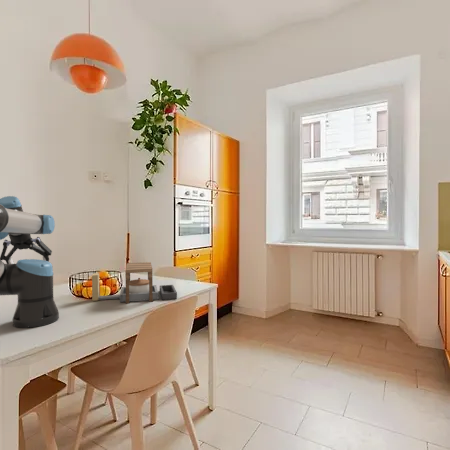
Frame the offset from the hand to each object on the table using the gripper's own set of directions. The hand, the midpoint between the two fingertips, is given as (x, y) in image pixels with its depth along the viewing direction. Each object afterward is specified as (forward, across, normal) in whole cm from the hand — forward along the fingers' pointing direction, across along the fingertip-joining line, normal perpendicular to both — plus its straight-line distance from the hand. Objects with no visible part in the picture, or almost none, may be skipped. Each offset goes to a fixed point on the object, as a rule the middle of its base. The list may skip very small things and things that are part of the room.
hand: (30, 268), depth 144 cm
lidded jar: (+14, -47, +14) cm, 51 cm away
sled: (+13, -41, +14) cm, 45 cm away
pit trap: (+15, -61, +15) cm, 64 cm away
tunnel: (+14, -47, +14) cm, 51 cm away
